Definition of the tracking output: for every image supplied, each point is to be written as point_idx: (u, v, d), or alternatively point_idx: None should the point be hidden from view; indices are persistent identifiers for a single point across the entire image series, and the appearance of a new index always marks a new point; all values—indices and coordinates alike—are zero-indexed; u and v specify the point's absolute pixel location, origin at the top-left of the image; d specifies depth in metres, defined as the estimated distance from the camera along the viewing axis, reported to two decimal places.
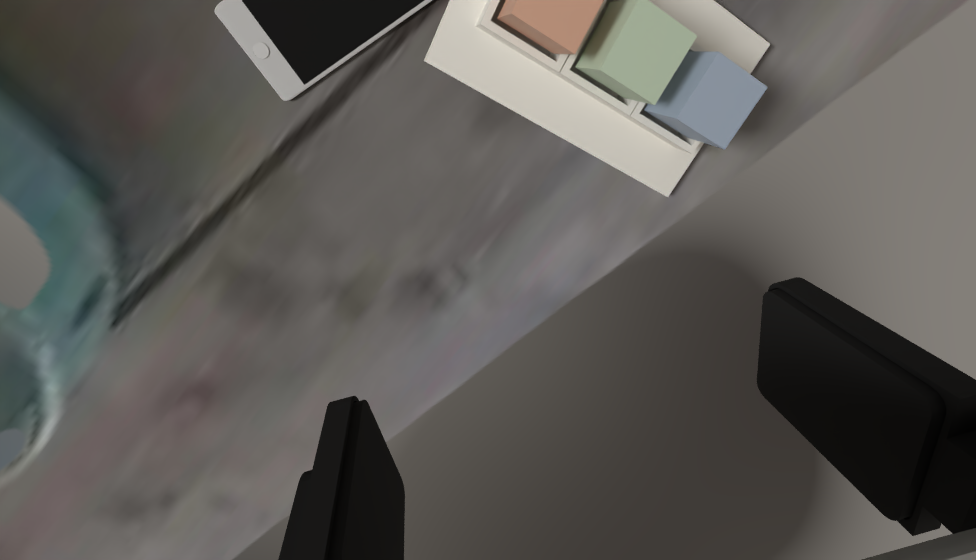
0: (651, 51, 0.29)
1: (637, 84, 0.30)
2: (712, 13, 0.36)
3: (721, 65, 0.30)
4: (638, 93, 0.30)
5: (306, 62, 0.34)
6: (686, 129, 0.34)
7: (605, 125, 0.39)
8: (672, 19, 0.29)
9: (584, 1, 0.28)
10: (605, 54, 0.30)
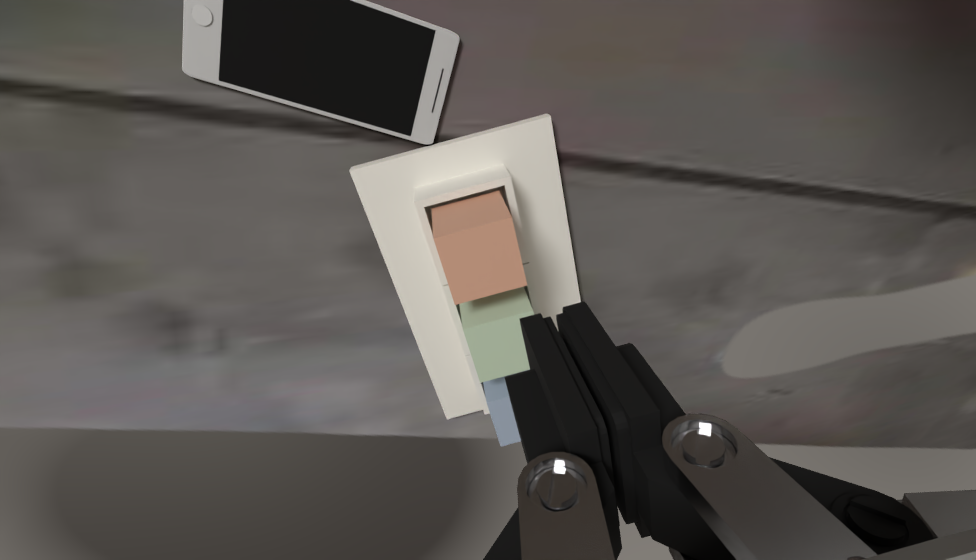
0: (508, 348, 0.31)
1: (480, 360, 0.31)
2: None
3: None
4: (475, 366, 0.31)
5: (240, 67, 0.28)
6: None
7: (447, 337, 0.39)
8: None
9: (492, 280, 0.28)
10: (477, 320, 0.30)
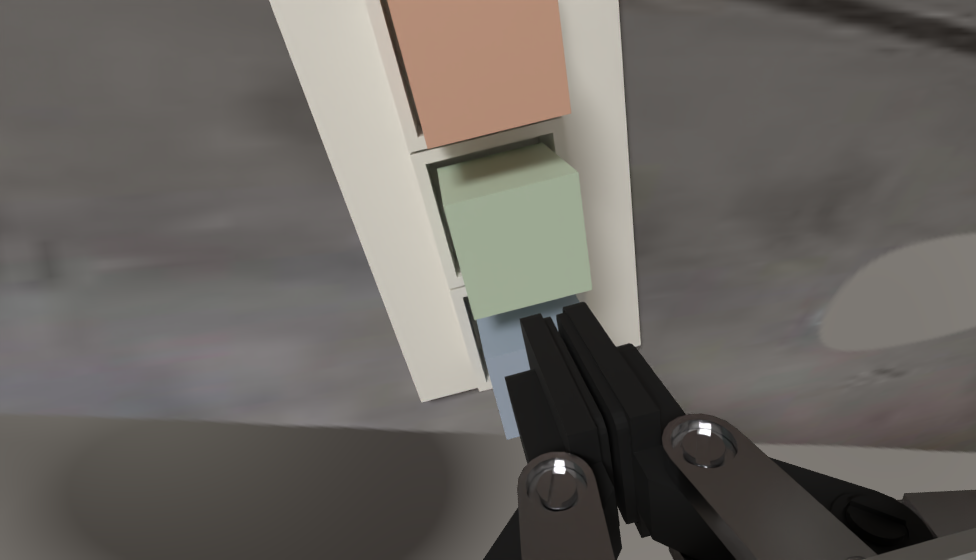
0: (528, 252, 0.17)
1: (475, 274, 0.17)
2: (622, 266, 0.26)
3: None
4: (466, 286, 0.17)
5: None
6: None
7: (421, 267, 0.24)
8: (584, 241, 0.17)
9: (503, 94, 0.14)
10: (471, 193, 0.16)
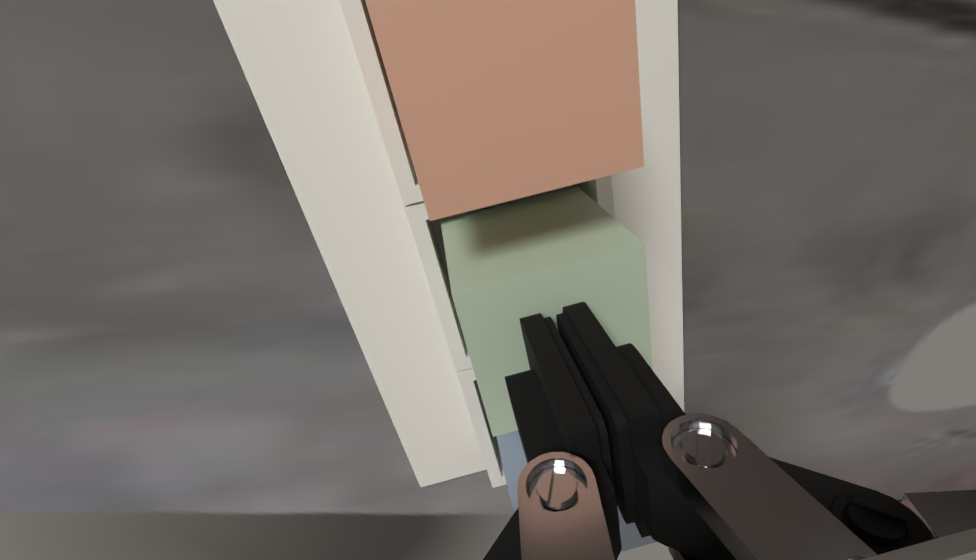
0: None
1: (495, 381, 0.12)
2: (667, 327, 0.21)
3: None
4: (483, 396, 0.12)
5: None
6: None
7: (420, 335, 0.20)
8: (647, 334, 0.12)
9: (544, 141, 0.09)
10: (490, 273, 0.11)
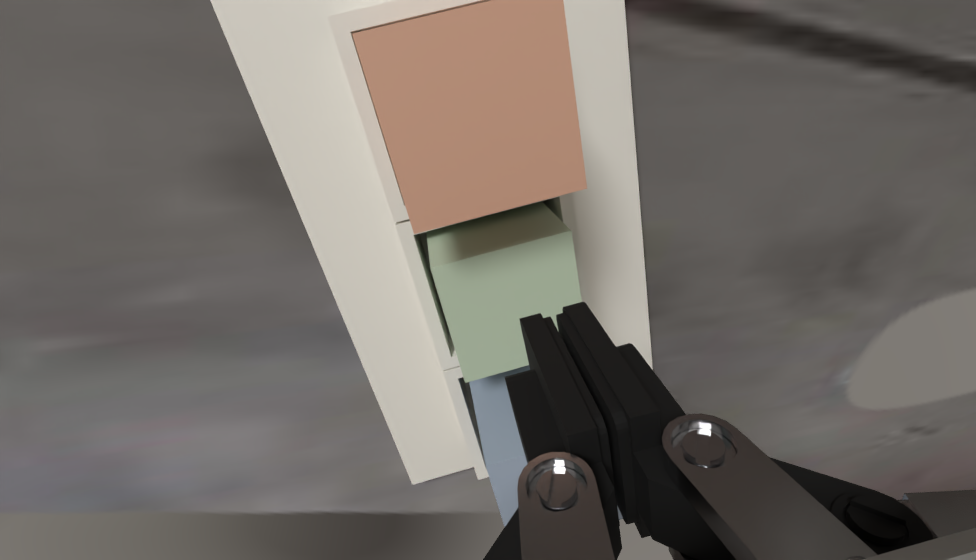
0: (520, 312, 0.16)
1: (465, 336, 0.16)
2: (635, 330, 0.23)
3: None
4: (456, 349, 0.16)
5: None
6: None
7: (411, 339, 0.22)
8: (579, 300, 0.16)
9: (505, 169, 0.12)
10: (459, 253, 0.15)
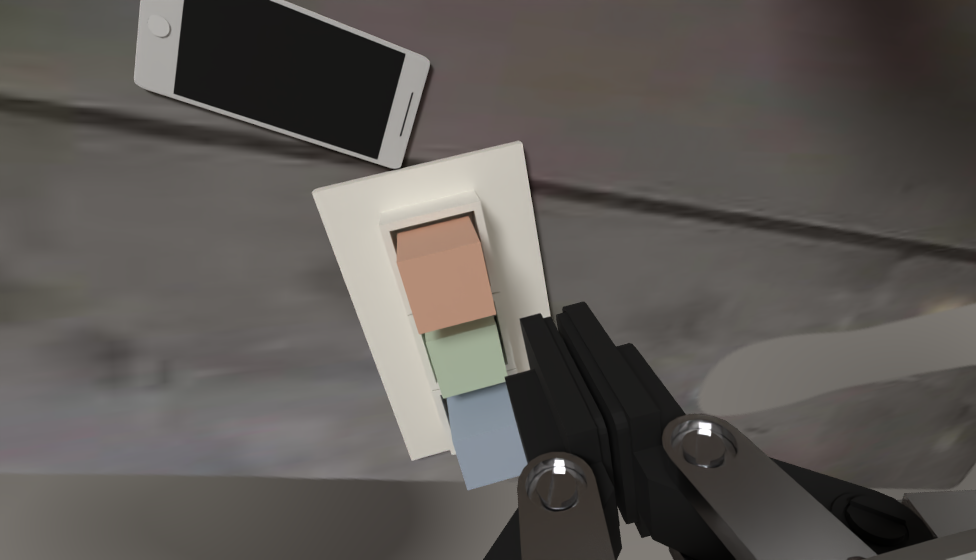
0: (471, 363, 0.31)
1: (443, 375, 0.31)
2: None
3: (514, 432, 0.31)
4: (438, 381, 0.31)
5: (197, 80, 0.27)
6: None
7: (413, 371, 0.37)
8: (502, 356, 0.31)
9: (459, 307, 0.26)
10: (440, 334, 0.30)
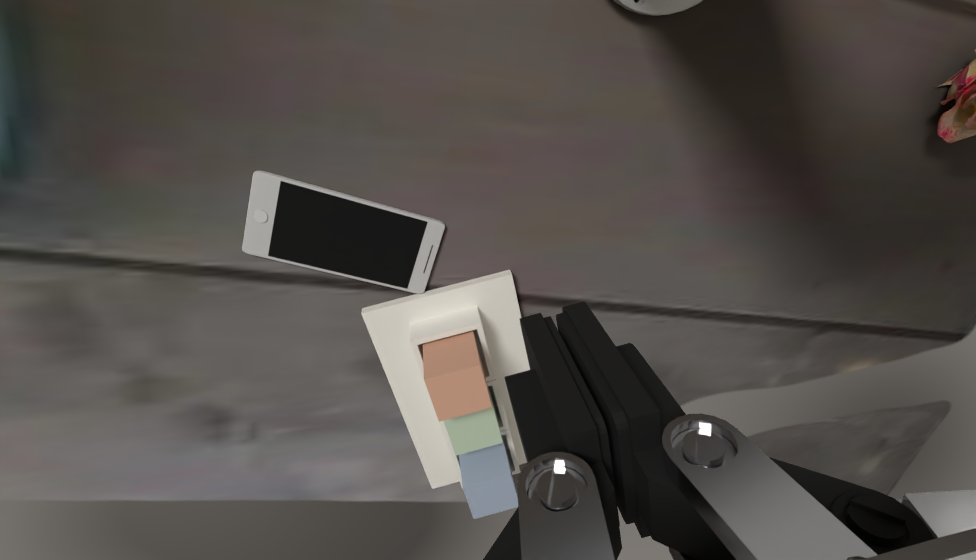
0: (475, 432, 0.43)
1: (455, 440, 0.43)
2: None
3: (506, 480, 0.43)
4: (452, 444, 0.43)
5: (284, 246, 0.39)
6: None
7: (433, 427, 0.49)
8: (497, 427, 0.43)
9: (466, 404, 0.39)
10: None
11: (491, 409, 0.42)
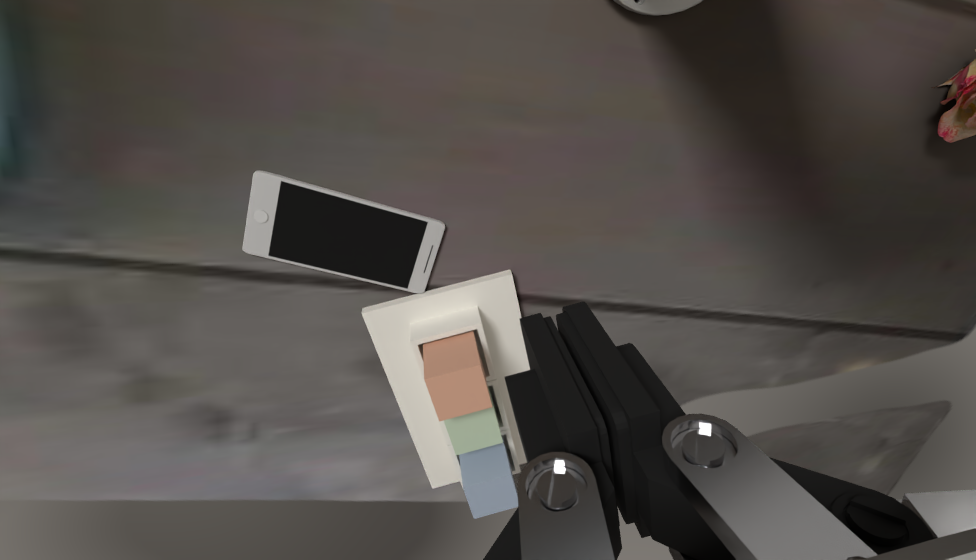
0: (476, 432, 0.43)
1: (456, 440, 0.43)
2: None
3: (507, 480, 0.43)
4: (452, 444, 0.43)
5: (284, 246, 0.39)
6: None
7: (433, 427, 0.49)
8: (498, 427, 0.43)
9: (466, 404, 0.39)
10: None
11: (491, 409, 0.42)
